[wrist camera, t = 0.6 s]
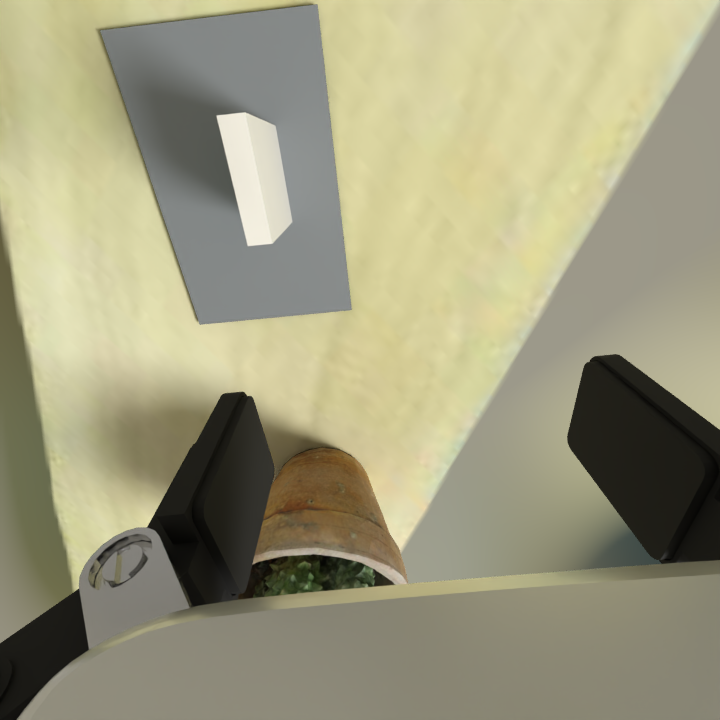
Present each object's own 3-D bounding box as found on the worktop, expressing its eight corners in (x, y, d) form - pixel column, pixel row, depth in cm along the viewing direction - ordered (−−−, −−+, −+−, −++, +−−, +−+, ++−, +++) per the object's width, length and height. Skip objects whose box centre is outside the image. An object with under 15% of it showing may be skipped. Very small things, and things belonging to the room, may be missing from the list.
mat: (103, 32, 25) (100, 30, 25) (317, 6, 25) (317, 4, 24) (201, 322, 36) (199, 324, 35) (351, 308, 35) (351, 309, 35)
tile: (252, 128, 28) (213, 115, 20) (275, 125, 28) (245, 112, 20) (272, 224, 31) (245, 246, 23) (292, 222, 31) (272, 243, 23)
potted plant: (225, 446, 44) (99, 732, 22) (371, 406, 41) (394, 684, 19) (286, 536, 52) (239, 806, 30) (410, 508, 50) (456, 779, 28)
